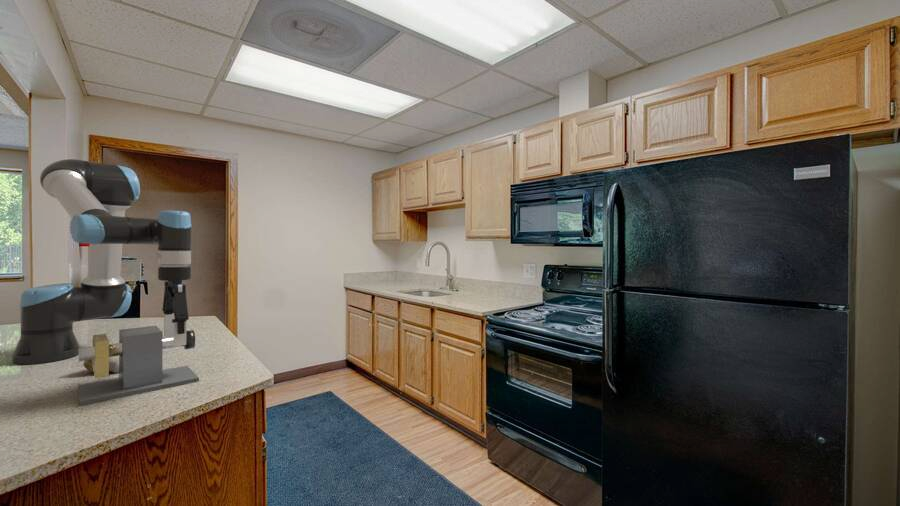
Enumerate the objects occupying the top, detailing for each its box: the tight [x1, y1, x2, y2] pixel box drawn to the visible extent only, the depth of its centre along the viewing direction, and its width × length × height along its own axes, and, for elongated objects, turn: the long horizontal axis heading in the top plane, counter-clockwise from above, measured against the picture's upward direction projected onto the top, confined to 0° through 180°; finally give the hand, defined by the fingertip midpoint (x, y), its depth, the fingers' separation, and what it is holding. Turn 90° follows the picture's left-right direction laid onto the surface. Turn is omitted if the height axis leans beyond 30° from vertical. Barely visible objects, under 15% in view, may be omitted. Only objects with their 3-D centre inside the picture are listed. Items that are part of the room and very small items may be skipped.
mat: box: [77, 365, 200, 406], centre depth 104 cm, size 14×24×1 cm, turn 136°
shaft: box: [78, 329, 196, 362], centre depth 104 cm, size 5×24×5 cm, turn 136°
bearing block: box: [118, 325, 164, 390], centre depth 104 cm, size 10×8×15 cm
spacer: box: [92, 333, 110, 379], centre depth 98 cm, size 9×2×9 cm, turn 46°
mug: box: [83, 356, 119, 374], centre depth 114 cm, size 8×10×10 cm
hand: (174, 340), depth 109 cm, fingers open, 13 cm apart
